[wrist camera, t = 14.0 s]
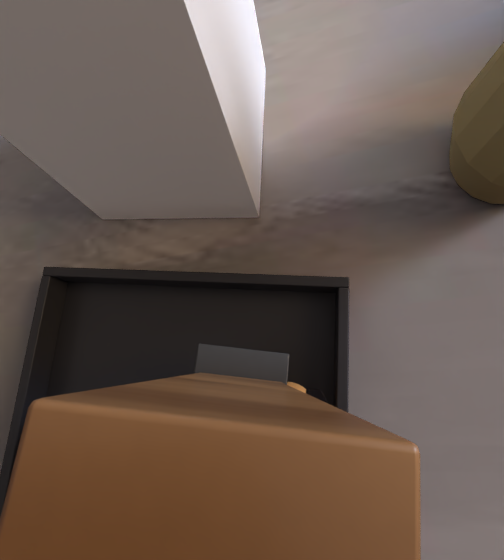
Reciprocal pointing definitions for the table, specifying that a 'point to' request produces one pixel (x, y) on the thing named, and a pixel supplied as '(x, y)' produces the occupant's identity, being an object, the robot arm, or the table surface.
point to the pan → (175, 331)
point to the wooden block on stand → (209, 472)
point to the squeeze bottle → (481, 134)
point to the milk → (138, 102)
